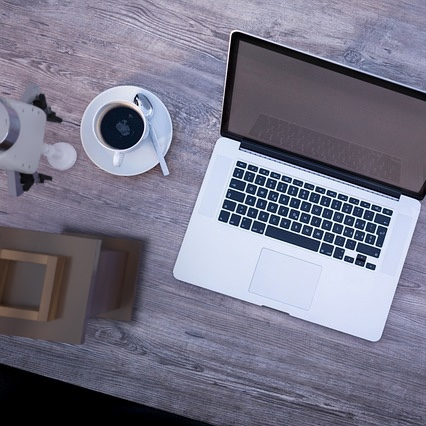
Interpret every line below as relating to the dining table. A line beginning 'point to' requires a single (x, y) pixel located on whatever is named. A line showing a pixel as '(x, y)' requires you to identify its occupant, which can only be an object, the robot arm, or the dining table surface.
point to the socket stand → (46, 284)
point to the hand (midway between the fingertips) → (48, 148)
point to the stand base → (115, 277)
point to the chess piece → (59, 155)
